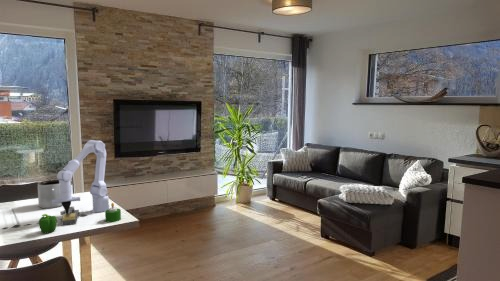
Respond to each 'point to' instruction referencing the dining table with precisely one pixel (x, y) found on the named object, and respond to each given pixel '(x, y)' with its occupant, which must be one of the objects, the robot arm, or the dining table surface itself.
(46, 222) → the bell pepper
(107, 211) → the candle
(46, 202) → the planter
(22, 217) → the dining table surface
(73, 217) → the lever cap
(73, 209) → the lever
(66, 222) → the plane body
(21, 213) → the dining table surface
